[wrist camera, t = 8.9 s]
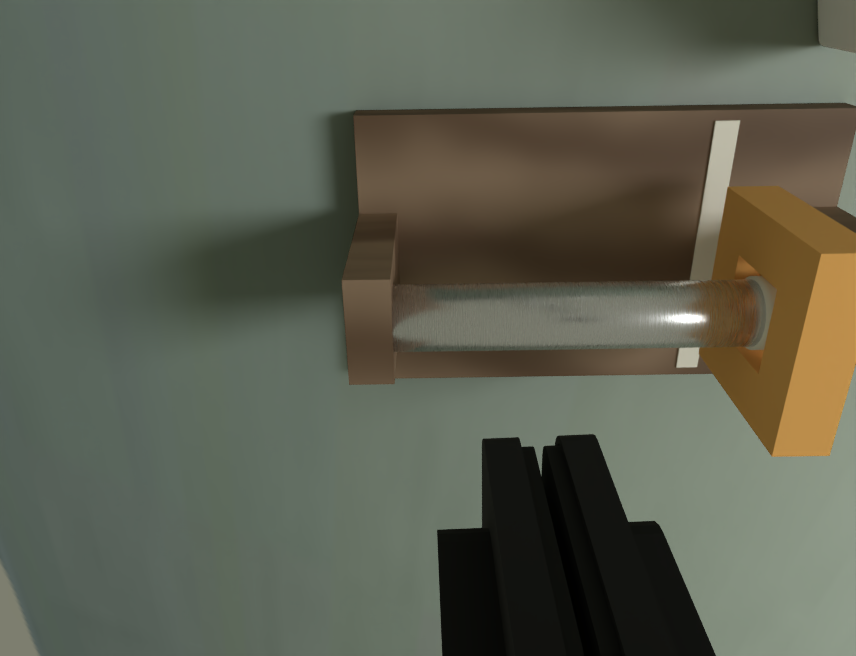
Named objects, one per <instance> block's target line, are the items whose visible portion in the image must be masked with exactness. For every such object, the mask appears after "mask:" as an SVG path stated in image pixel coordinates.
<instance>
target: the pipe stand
mask: <svg viewBox="0 0 856 656" xmlns="http://www.w3.org/2000/svg"><path fill="white" fill-rule="evenodd" d="M353 118H354V135H355V152H356V169H357V186H358V204H359V216H358V220H357V224H356V228H355V231H354V235H353V239H352V243H351V247H350V250H349V254H348V258H347V262H346V266H345V270H344V273H343V277H342V291H343V305H344V319H345V333H346V346H347V360H348V374H349V385H361V384H394V383H395V378H452V377H519V376H586V375H653V374H713V373H712V372H711V370H710V369H709V368H708V366H707V365H706V363H705V362H704V361H703V359H702V358H701V356H700V355H699V348H700V347H745V348H747V349H749V350H764V347H765V343H766V338H767V334H768V329H769V325H770V320H771V315H772V311H773V306H774V302H775V297H776V293H777V289H776V288H775V287H774V286H772V285H771V284H770V283H769V282H768V281H767V280H766V279H765V278H764V277H763V276H748V277H746V278H745V279H740V280H711V279H712V273H713V268H714V262H715V256H716V250H717V245H718V239H719V233H720V227H721V222H722V216H723V210H724V204H725V199H726V193H727V187H734V186H779V187H781V188H783V189H784V190H786V191H788V192H789V193H791V194H792V195H794V196H796V197H797V198H799V199H801V200H802V201H804V202H806V203H807V204H809V205H810V206H812V207H814V208H815V209H817V210H819V211H820V212H822V213H823V214H825V215H827V216H828V217H830V218H832V219H833V220H835V221H836V222H838V223H840V224H841V225H843V226H845V227H846V228H848V229H850V230H851V231H853V232H854V233H856V217H854V216H852V215H851V214H849V213H847V212H846V211H844V210H842V209H840V208H839V207H837V204H838V200H839V196H840V192H841V188H842V184H843V180H844V176H845V172H846V167H847V163H848V159H849V155H850V151H851V147H852V143H853V139H854V135H855V131H856V106H853V105H850V104H847V103H807V104H742V105H677V106H612V107H547V108H482V109H416V110H356V111H355V113H354V116H353Z"/></svg>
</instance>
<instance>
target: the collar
mask: <svg viewBox="0 0 856 656" xmlns="http://www.w3.org/2000/svg"><path fill="white" fill-rule="evenodd" d="M748 276H763V277H764V278H765V279H766V280H767V281H768V282H769V283H770V284H771V285H772V286H774V287H775V288H776V289H777V293H776V297H775V302H774V306H773V311H772V315H771V320H770V325H769V329H768V334H767V338H766V343H765V347H764V350H749V349H747V348H745V347H700V348H699V355H700V356H701V358H702V359H703V361H704V362H705V363H706V365H707V366H708V368H709V369H710V370H711V372H712V373H713V375H714V376H715V377H716V379H717V380H718V382H719V383H720V384H721V386H722V387H723V389H724V390H725V391H726V393H727V394H728V396H729V397H730V398H731V400H732V401H733V403H734V404H735V405H736V407H737V408H738V410H739V411H740V412H741V414H742V415H743V417H744V418H745V419H746V421H747V422H748V424H749V425H750V426H751V428H752V429H753V431H754V432H755V433H756V435H757V436H758V438H759V439H760V440H761V442H762V443H763V445H764V446H765V447H766V449H767V450H768V452H769V453H770V454H771V456H772V457H775V456H830V452H831V449H832V445H833V442H834V438H835V435H836V431H837V428H838V424H839V421H840V417H841V414H842V410H843V407H844V403H845V400H846V396H847V393H848V389H849V386H850V382H851V379H852V375H853V372H854V368H855V365H856V233H854V232H853V231H851V230H850V229H848V228H846V227H845V226H843V225H841V224H840V223H838V222H836V221H835V220H833V219H832V218H830V217H828V216H827V215H825V214H823V213H822V212H820V211H819V210H817V209H815V208H814V207H812V206H810V205H809V204H807V203H806V202H804V201H802V200H801V199H799V198H797V197H796V196H794V195H792V194H791V193H789V192H788V191H786V190H784V189H783V188H781V187H779V186H734V187H727V193H726V199H725V204H724V210H723V216H722V222H721V227H720V233H719V239H718V245H717V250H716V256H715V262H714V268H713V273H712V279H711V280H740V279H745V278H746V277H748Z"/></svg>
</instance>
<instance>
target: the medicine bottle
mask: <svg viewBox="0 0 856 656" xmlns="http://www.w3.org/2000/svg"><path fill="white" fill-rule="evenodd" d="M818 35H819V43H820V44H821V45H822V46H824V47H829V48H834V49H839V50H844V51H849V52H854V53H856V0H818Z"/></svg>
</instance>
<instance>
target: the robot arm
mask: <svg viewBox="0 0 856 656" xmlns="http://www.w3.org/2000/svg"><path fill="white" fill-rule="evenodd" d="M437 536H438V561H439V585H440V609H441V634H442V656H716V655H715V653H714V650H713V648H712V646H711V643H710V641H709V639H708V636H707V634H706V632H705V629H704V627H703V625H702V622H701V620H700V617H699V615H698V613H697V610H696V608H695V606H694V603H693V601H692V599H691V596H690V594H689V592H688V589H687V587H686V585H685V582H684V580H683V578H682V575H681V573H680V571H679V568H678V566H677V564H676V561H675V559H674V557H673V554H672V552H671V550H670V547H669V545H668V543H667V540H666V538H665V536H664V533H663V531H662V530H661V528H660V526H659V525H658V524H657V523H656V522H655V521H643V522H628V520H627V518H626V515H625V512H624V510H623V507H622V504H621V502H620V499H619V496H618V494H617V491H616V488H615V486H614V483H613V480H612V478H611V475H610V472H609V470H608V467H607V464H606V461H605V459H604V456H603V453H602V451H601V448H600V445H599V443H598V440H597V438H596V436H595V435H594V434H589V435H565V436H557V438H556V442H555V446H544V448H543V455H542V477H541V474H540V470H539V465H538V461H537V457H536V453H535V449H534V447H533V446H532V447H521V443H520V439H519V438H518V437H516V438H491V439H483V440H482V528H471V529H446V530H437Z"/></svg>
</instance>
